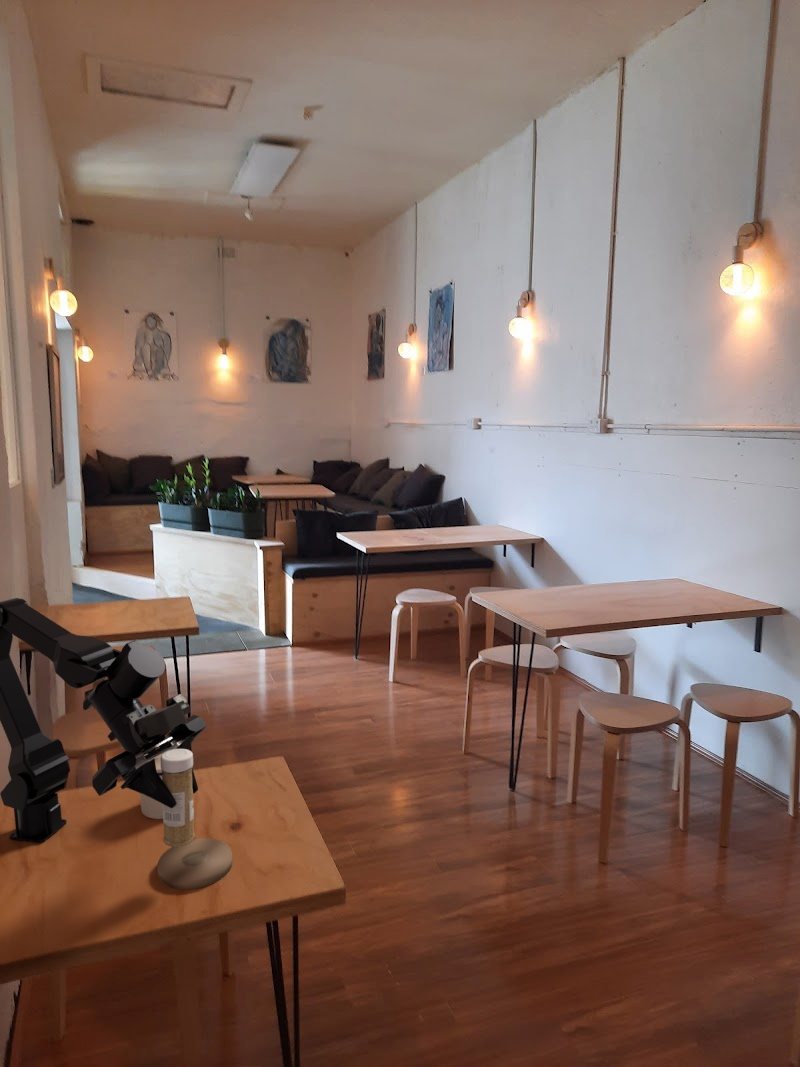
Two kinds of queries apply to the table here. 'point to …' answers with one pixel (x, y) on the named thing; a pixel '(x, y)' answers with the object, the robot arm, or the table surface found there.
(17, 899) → the table surface
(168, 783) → the sprinkles bottle
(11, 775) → the robot arm
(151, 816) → the cream ceramic jar
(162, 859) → the grey-brown round disc
